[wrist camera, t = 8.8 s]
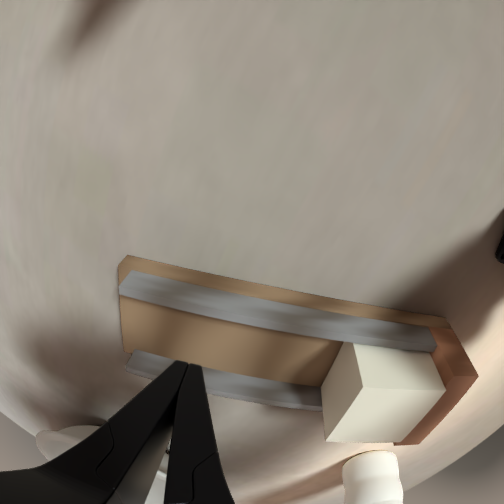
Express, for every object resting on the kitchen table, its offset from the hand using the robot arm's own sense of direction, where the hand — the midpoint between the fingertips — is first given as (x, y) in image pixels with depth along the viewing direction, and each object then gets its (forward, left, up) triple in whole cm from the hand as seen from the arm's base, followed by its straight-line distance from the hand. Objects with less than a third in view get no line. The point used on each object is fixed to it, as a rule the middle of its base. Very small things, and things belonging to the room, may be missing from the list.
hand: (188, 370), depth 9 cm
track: (-5, +7, -11) cm, 14 cm away
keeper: (-11, +7, -9) cm, 16 cm away
